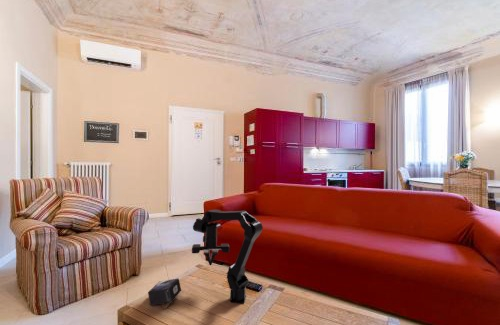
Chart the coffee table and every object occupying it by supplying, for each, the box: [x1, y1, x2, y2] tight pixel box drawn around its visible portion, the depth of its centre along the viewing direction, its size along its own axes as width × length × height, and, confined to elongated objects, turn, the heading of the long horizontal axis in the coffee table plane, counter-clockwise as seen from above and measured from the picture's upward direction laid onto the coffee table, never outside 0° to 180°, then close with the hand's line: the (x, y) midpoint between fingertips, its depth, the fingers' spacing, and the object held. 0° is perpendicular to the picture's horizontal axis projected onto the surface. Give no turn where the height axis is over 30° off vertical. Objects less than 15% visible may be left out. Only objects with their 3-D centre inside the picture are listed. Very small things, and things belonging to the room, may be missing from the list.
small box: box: [147, 278, 182, 306], centre depth 117 cm, size 11×6×10 cm
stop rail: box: [161, 303, 171, 310], centre depth 117 cm, size 2×14×2 cm, turn 171°
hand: (210, 264), depth 129 cm, fingers closed
